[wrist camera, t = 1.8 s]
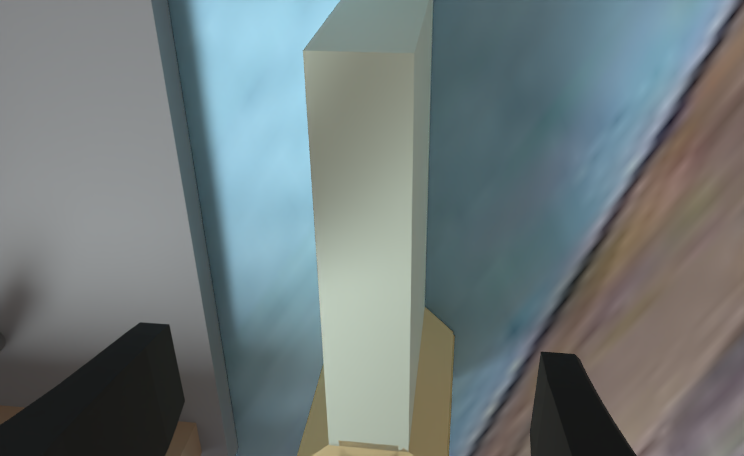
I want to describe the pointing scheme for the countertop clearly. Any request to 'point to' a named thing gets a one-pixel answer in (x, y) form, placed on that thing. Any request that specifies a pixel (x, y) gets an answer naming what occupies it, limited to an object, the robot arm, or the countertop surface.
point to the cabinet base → (101, 207)
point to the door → (374, 235)
